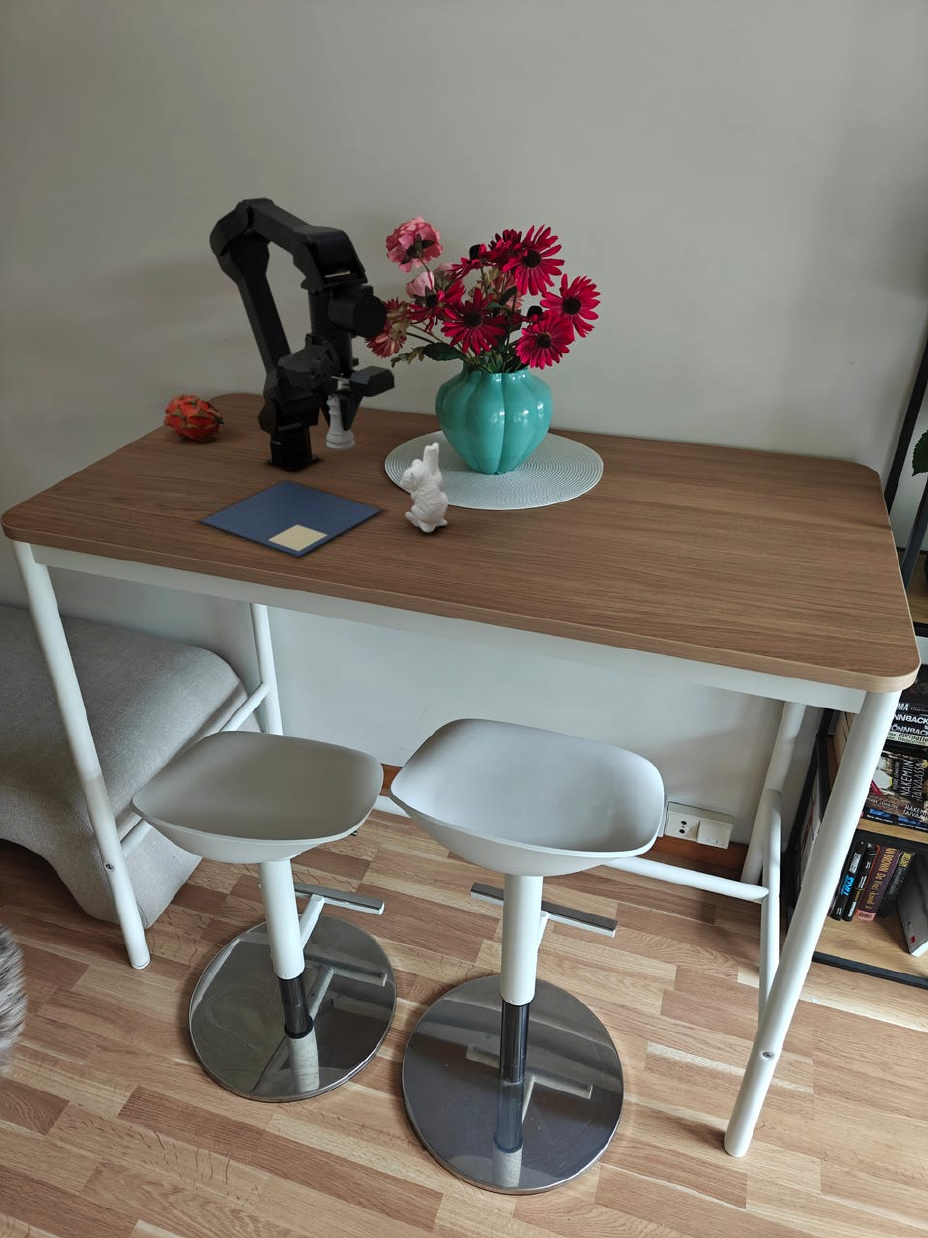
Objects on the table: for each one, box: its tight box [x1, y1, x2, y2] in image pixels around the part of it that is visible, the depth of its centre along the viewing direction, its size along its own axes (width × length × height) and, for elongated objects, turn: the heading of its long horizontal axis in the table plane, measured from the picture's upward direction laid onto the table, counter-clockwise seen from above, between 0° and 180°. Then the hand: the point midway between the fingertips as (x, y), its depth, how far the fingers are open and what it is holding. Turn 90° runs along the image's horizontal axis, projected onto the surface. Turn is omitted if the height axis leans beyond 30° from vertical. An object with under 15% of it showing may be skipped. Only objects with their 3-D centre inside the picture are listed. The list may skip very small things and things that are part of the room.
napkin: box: [200, 480, 382, 558], centre depth 133 cm, size 18×20×1 cm
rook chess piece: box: [325, 394, 356, 452], centre depth 136 cm, size 4×4×8 cm
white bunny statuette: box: [399, 442, 449, 533], centre depth 127 cm, size 8×7×12 cm
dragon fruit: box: [162, 393, 225, 442], centre depth 160 cm, size 8×8×12 cm
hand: (339, 428), depth 136 cm, fingers closed on rook chess piece, 3 cm apart
